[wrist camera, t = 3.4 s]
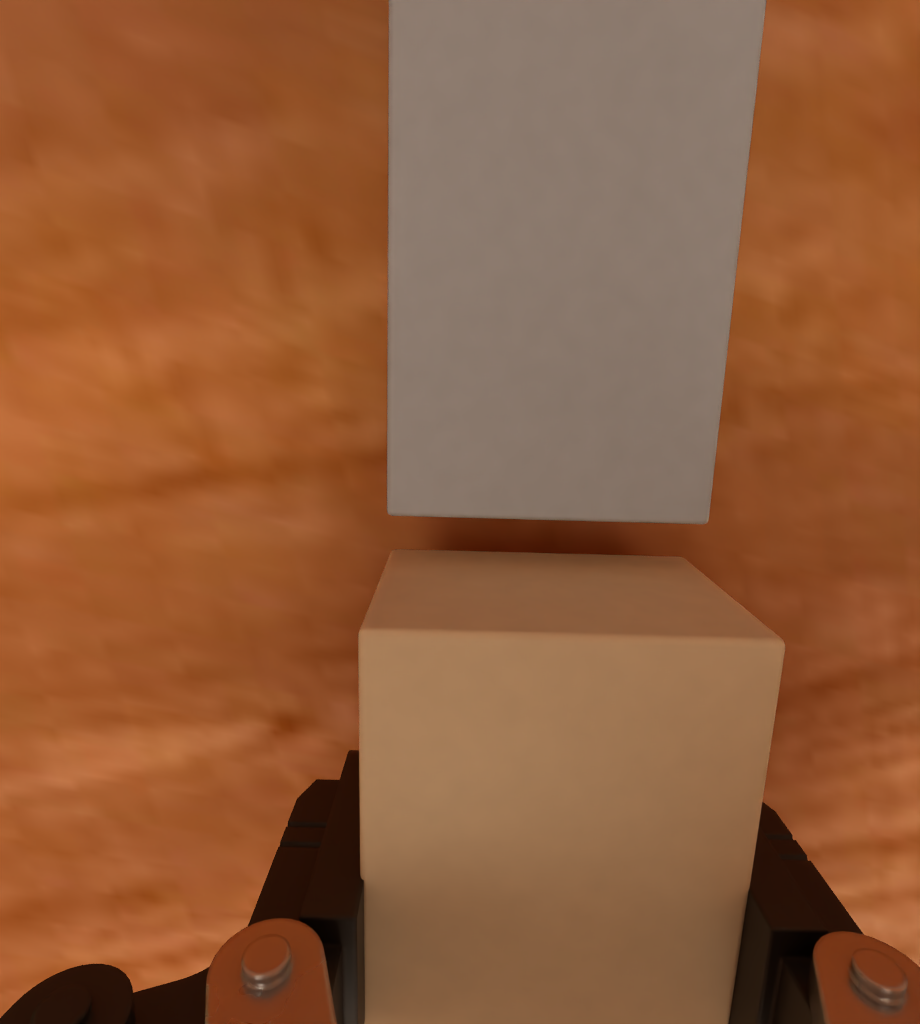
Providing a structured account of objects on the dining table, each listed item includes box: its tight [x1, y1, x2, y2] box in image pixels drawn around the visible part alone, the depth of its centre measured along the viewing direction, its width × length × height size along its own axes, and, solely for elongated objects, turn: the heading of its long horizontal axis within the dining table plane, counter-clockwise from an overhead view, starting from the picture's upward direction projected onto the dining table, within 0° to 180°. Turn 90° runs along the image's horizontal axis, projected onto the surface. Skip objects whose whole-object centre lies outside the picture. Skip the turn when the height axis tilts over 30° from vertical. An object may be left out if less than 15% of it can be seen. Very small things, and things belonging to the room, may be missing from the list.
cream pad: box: [358, 549, 785, 1024], centre depth 10 cm, size 9×5×4 cm, turn 178°
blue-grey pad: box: [387, 0, 766, 524], centre depth 10 cm, size 9×5×4 cm, turn 178°
